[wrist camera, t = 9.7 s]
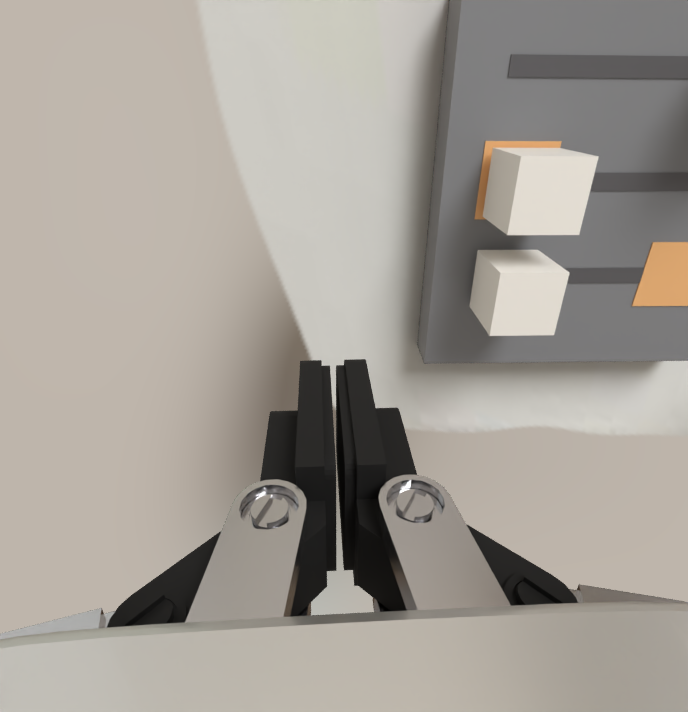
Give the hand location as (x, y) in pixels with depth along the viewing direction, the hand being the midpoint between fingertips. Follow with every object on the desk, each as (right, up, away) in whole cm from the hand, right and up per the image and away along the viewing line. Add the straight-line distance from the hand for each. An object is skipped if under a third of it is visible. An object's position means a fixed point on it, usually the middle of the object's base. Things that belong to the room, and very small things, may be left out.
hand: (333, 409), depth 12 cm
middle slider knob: (+7, +8, +6) cm, 13 cm away
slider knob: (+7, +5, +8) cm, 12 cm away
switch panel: (+11, +10, +9) cm, 17 cm away
